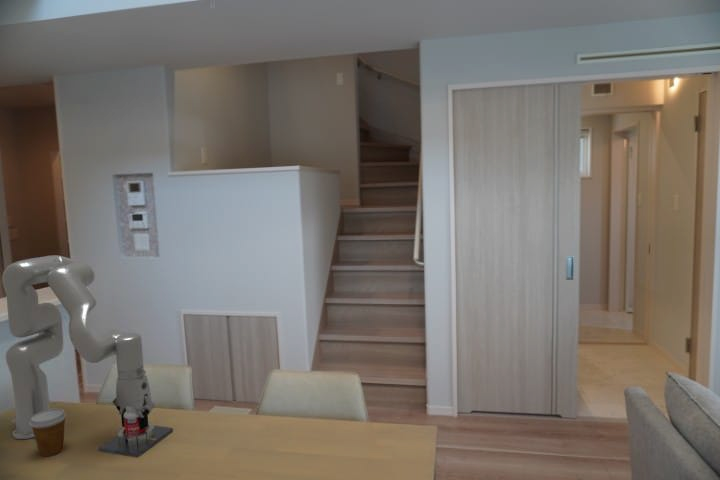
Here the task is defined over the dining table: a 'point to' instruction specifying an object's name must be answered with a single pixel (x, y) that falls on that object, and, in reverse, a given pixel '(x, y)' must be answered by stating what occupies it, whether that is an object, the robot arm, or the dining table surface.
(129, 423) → the pill bottle
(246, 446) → the dining table surface
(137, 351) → the robot arm
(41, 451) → the disposable coffee cup
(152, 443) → the socket plate
